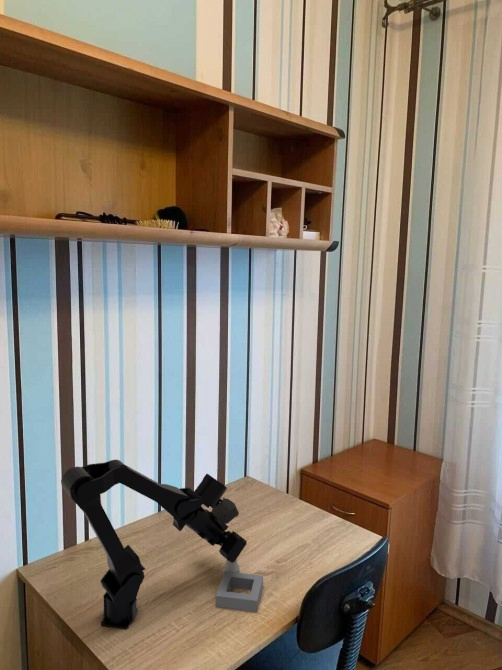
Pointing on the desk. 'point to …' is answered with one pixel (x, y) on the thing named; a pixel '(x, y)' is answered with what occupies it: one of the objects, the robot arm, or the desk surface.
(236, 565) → the rook chess piece
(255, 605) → the hollow square block
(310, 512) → the desk surface
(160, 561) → the desk surface
